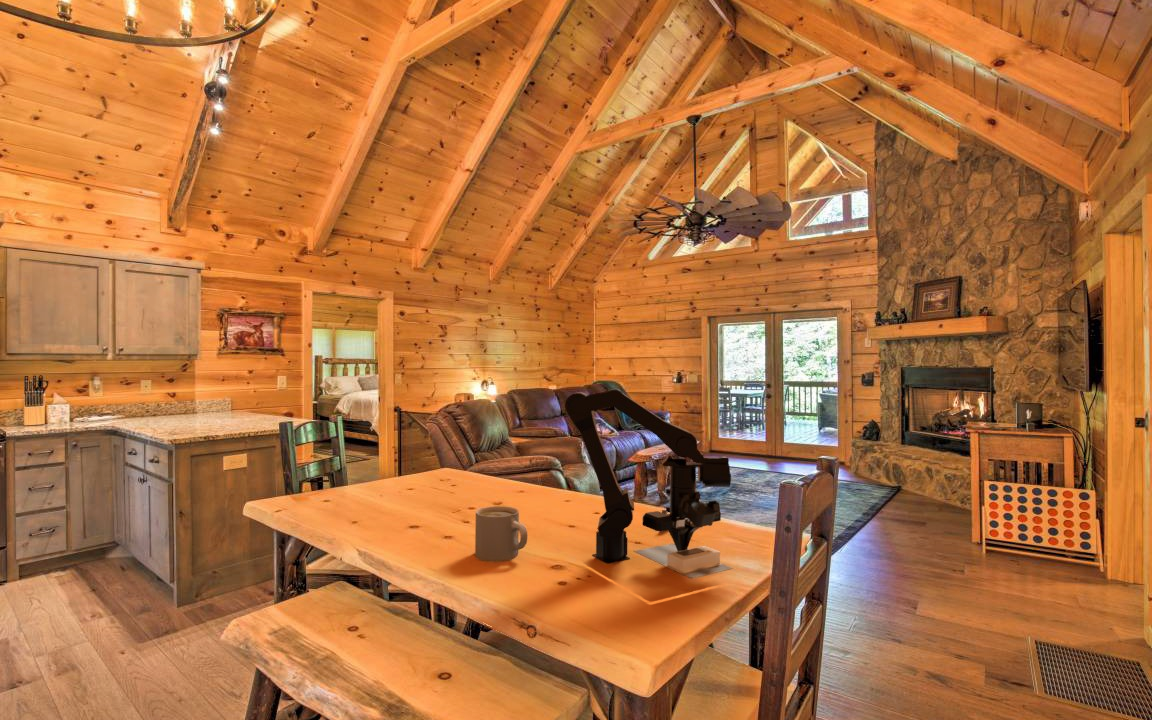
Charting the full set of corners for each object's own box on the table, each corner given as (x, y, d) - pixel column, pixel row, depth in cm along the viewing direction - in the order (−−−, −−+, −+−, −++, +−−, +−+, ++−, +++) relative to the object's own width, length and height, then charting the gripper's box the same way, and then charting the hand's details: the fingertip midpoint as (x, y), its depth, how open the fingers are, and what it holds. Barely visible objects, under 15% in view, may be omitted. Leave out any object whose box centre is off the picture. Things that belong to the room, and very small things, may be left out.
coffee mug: (466, 554, 132) (467, 511, 132) (500, 544, 139) (501, 504, 139) (502, 568, 122) (503, 522, 123) (536, 558, 129) (537, 514, 130)
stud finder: (683, 572, 120) (683, 559, 120) (667, 565, 124) (667, 552, 124) (719, 562, 126) (720, 550, 126) (703, 556, 130) (703, 544, 130)
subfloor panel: (691, 580, 117) (691, 578, 117) (633, 552, 134) (633, 550, 134) (733, 570, 123) (733, 568, 123) (672, 545, 140) (672, 543, 140)
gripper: (674, 497, 116) (673, 574, 116) (739, 488, 126) (738, 559, 126) (641, 487, 126) (640, 557, 126) (703, 479, 135) (703, 544, 135)
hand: (682, 555), depth 128 cm, fingers closed, pressing on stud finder
